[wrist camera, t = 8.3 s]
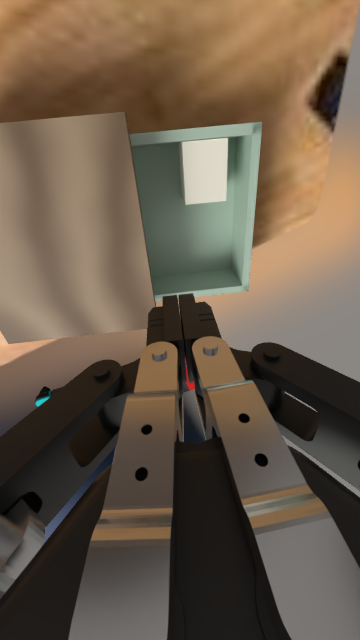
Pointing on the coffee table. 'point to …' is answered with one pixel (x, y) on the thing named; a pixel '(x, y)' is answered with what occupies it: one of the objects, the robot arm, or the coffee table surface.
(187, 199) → the ceramic block
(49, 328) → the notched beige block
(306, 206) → the coffee table surface
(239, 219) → the box
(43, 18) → the coffee table surface
